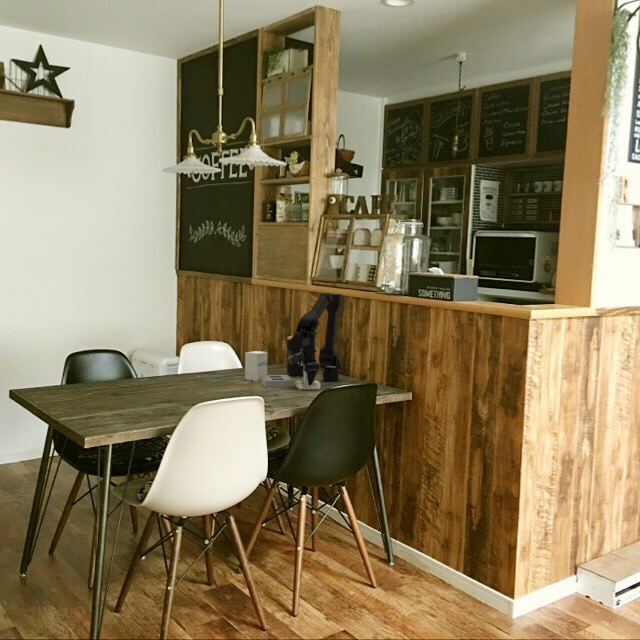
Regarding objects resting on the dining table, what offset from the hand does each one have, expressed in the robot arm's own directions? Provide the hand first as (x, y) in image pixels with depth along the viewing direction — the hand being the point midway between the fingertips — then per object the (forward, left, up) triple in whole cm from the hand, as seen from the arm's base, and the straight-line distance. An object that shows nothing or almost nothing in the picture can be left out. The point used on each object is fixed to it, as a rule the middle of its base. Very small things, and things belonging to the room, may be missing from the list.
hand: (308, 383), depth 307 cm
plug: (0, 0, -2) cm, 2 cm away
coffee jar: (-2, -39, -2) cm, 39 cm away
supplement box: (+19, -28, -3) cm, 34 cm away
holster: (0, 0, -2) cm, 2 cm away
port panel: (+12, -10, -2) cm, 16 cm away
